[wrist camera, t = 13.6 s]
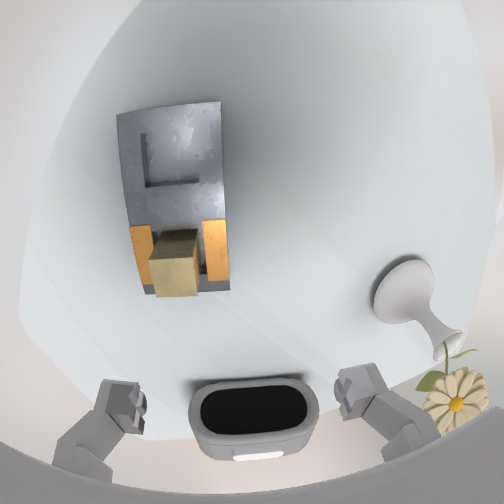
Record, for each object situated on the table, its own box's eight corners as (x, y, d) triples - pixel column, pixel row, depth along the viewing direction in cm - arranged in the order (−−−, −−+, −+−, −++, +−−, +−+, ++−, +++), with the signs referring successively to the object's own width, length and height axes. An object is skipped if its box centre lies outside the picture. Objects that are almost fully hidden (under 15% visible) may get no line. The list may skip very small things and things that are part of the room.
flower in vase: (420, 240, 34) (539, 353, 12) (431, 289, 39) (517, 392, 17) (349, 289, 37) (439, 443, 14) (371, 332, 42) (438, 456, 19)
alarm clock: (308, 369, 44) (329, 434, 32) (301, 398, 48) (317, 455, 36) (189, 378, 42) (185, 447, 30) (197, 406, 46) (196, 466, 34)
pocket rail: (126, 115, 24) (115, 115, 21) (220, 103, 25) (220, 101, 22) (150, 280, 33) (144, 295, 30) (229, 276, 34) (230, 291, 31)
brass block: (162, 229, 29) (148, 260, 23) (198, 227, 29) (192, 257, 23) (168, 261, 31) (156, 297, 25) (202, 260, 31) (197, 295, 25)
